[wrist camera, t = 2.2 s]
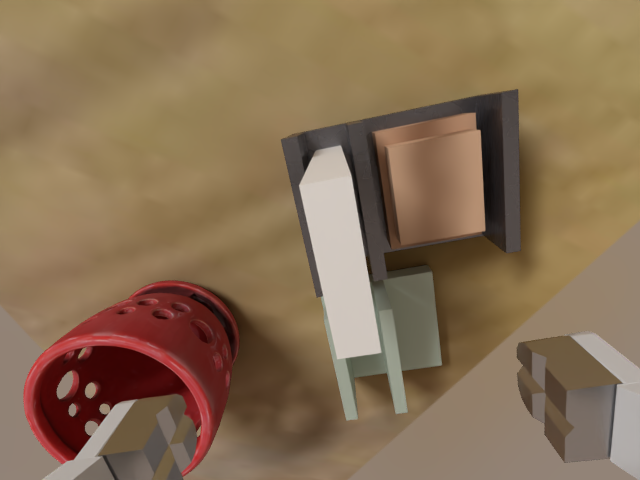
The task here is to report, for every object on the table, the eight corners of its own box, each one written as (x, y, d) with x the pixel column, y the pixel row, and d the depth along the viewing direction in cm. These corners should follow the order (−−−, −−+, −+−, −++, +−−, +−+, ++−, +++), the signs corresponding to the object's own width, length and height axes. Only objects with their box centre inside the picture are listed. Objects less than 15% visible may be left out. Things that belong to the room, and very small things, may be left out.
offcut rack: (482, 94, 27) (535, 86, 20) (488, 228, 31) (535, 261, 24) (293, 134, 28) (281, 139, 21) (319, 257, 32) (316, 297, 25)
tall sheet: (340, 145, 27) (351, 175, 13) (357, 240, 30) (381, 352, 16) (315, 150, 27) (299, 185, 13) (334, 244, 30) (337, 359, 16)
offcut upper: (469, 128, 25) (480, 129, 23) (474, 222, 27) (485, 230, 25) (384, 146, 25) (388, 148, 23) (396, 236, 27) (401, 245, 26)
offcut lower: (465, 112, 26) (475, 112, 24) (472, 226, 29) (481, 233, 27) (371, 132, 27) (374, 133, 25) (387, 241, 30) (391, 249, 28)
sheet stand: (427, 264, 32) (450, 299, 26) (437, 355, 35) (460, 405, 29) (320, 282, 33) (317, 320, 27) (339, 369, 36) (340, 421, 30)
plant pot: (272, 355, 36) (245, 466, 24) (161, 391, 38) (89, 509, 26) (213, 243, 32) (149, 313, 21) (93, 289, 34) (-27, 376, 23)
